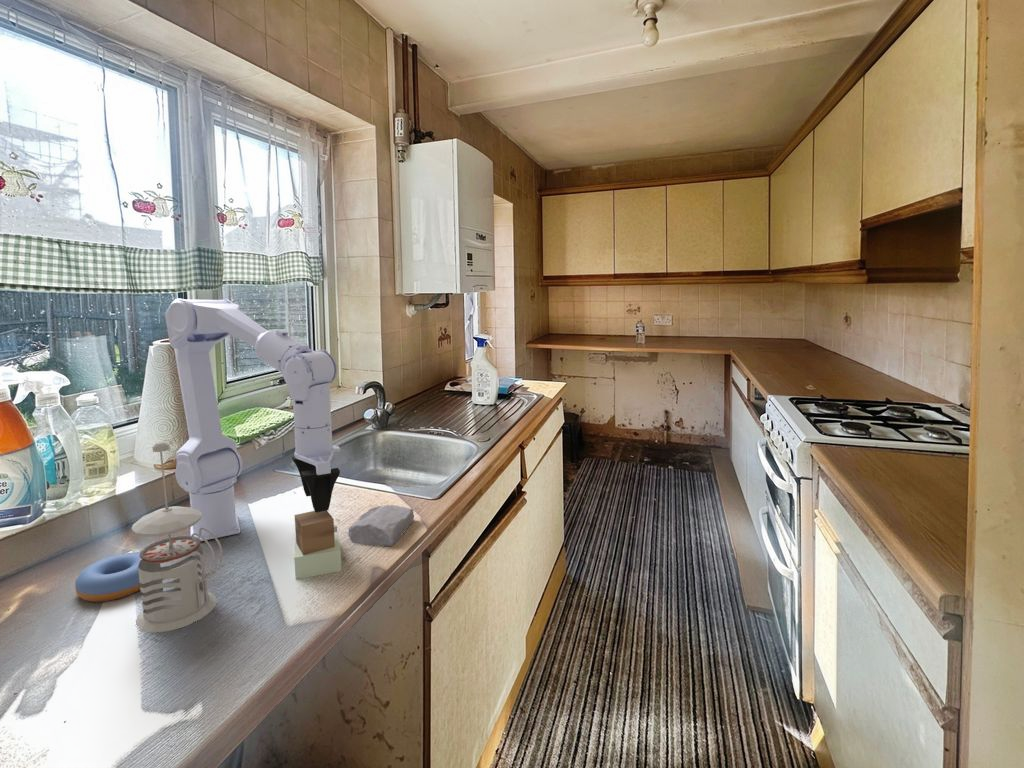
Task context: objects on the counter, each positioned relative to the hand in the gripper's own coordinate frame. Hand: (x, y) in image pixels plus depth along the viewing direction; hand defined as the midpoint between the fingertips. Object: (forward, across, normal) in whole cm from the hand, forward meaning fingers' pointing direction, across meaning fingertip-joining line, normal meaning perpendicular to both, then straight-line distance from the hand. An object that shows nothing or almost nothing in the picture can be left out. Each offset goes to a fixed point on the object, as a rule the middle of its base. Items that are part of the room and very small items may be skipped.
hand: (316, 502), depth 85 cm
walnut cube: (+7, -2, +1) cm, 7 cm away
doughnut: (+11, +7, +28) cm, 31 cm away
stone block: (+11, +5, -12) cm, 17 cm away
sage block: (+11, -2, 0) cm, 11 cm away
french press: (+11, -5, +20) cm, 23 cm away
